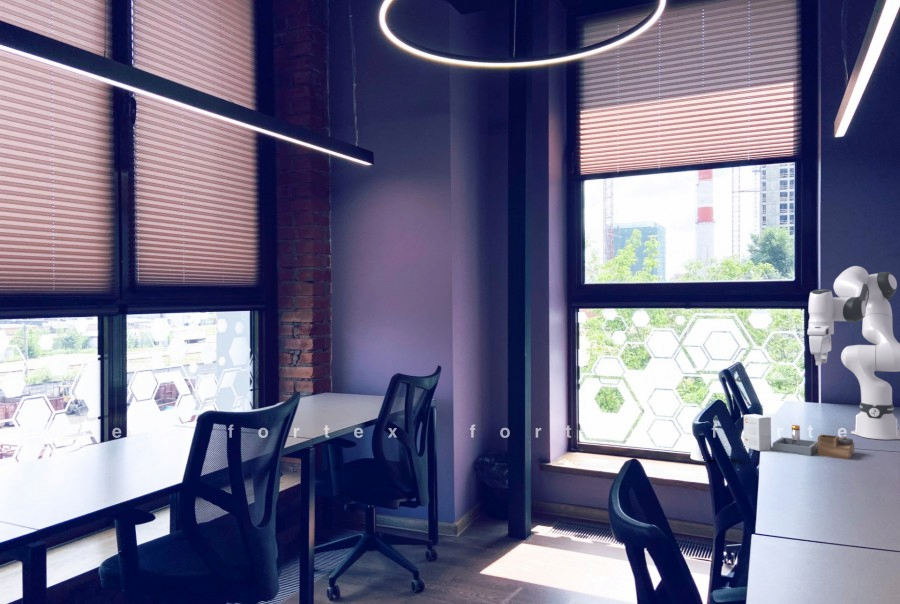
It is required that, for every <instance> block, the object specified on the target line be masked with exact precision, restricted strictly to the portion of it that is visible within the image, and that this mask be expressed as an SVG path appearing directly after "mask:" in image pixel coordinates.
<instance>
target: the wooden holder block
mask: <svg viewBox="0 0 900 604" xmlns="http://www.w3.org/2000/svg"><path fill="white" fill-rule="evenodd" d="M817 441H818V450H817V456H821V457H828V458H835V459H836V458H837V459H840V460H841V459H842V460H850V458H851V457H852V456H853V455H854V454H855V442H854V440H853V438H849V437H848V438H847V436H845V435H842V436H838V435H829V434H822V433H821V434H820V435H818V436H817Z"/></svg>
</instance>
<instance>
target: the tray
mask: <svg viewBox="0 0 900 604" xmlns="http://www.w3.org/2000/svg"><path fill="white" fill-rule="evenodd" d="M772 451H773V452H778V451H779V452H780V453H786V454H794V455H801V456H808V457H809V456H810V457H811V456H813V455H814V454H815V453H816V452H818V440H810V439H809V440H808V439H801V438H800V446H797V445H792V437H784V436H782V437H780V438H778V439H776V440H775V441H774V442H772ZM779 452H778V453H779Z"/></svg>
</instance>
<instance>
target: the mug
mask: <svg viewBox="0 0 900 604" xmlns="http://www.w3.org/2000/svg"><path fill="white" fill-rule="evenodd" d="M690 459H691V460H693V461H698V462H705V461H704V459H703V456H702V454H701V451H700V448H699V446H698V443H697V441H696V439H695V437H694V436H693V434H692V429H691V428H690Z"/></svg>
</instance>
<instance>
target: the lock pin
mask: <svg viewBox="0 0 900 604" xmlns="http://www.w3.org/2000/svg"><path fill="white" fill-rule="evenodd" d="M791 438H792V445H797V446H800V439H801V425H798V424H792V425H791Z"/></svg>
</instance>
